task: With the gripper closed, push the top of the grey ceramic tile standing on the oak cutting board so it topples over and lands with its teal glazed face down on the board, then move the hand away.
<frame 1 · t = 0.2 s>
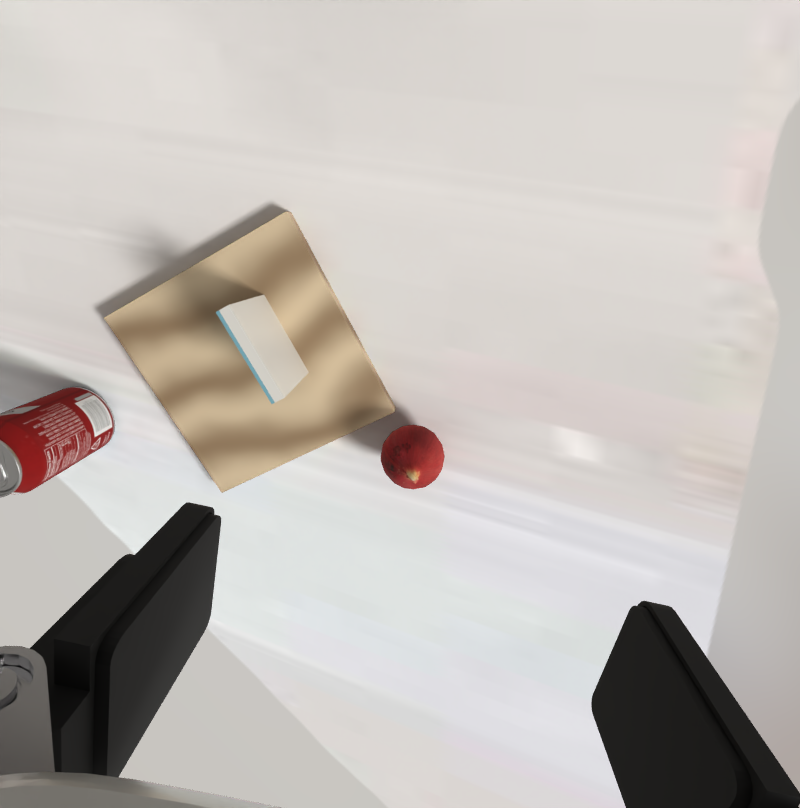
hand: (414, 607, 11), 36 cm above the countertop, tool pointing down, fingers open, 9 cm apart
tile: (281, 337, 45), point 1 cm above the countertop, touching board
soda can: (88, 415, 50), on the countertop
board: (256, 362, 47), on the countertop
onion: (413, 440, 49), on the countertop
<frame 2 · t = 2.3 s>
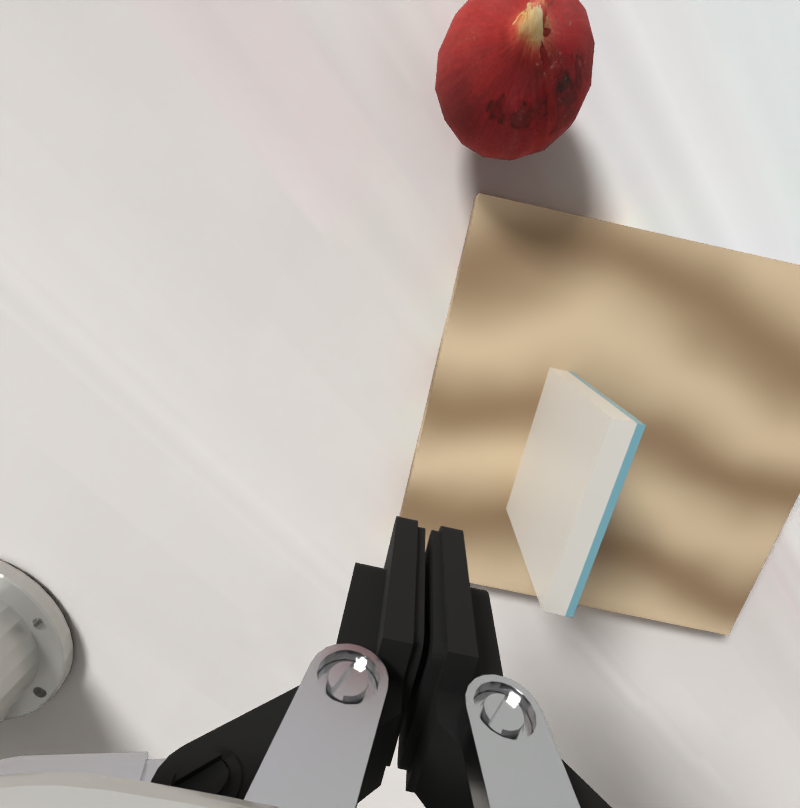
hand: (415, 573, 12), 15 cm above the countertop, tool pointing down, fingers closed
tile: (538, 443, 25), point 1 cm above the countertop, touching board
board: (608, 431, 26), on the countertop
onion: (496, 105, 22), on the countertop
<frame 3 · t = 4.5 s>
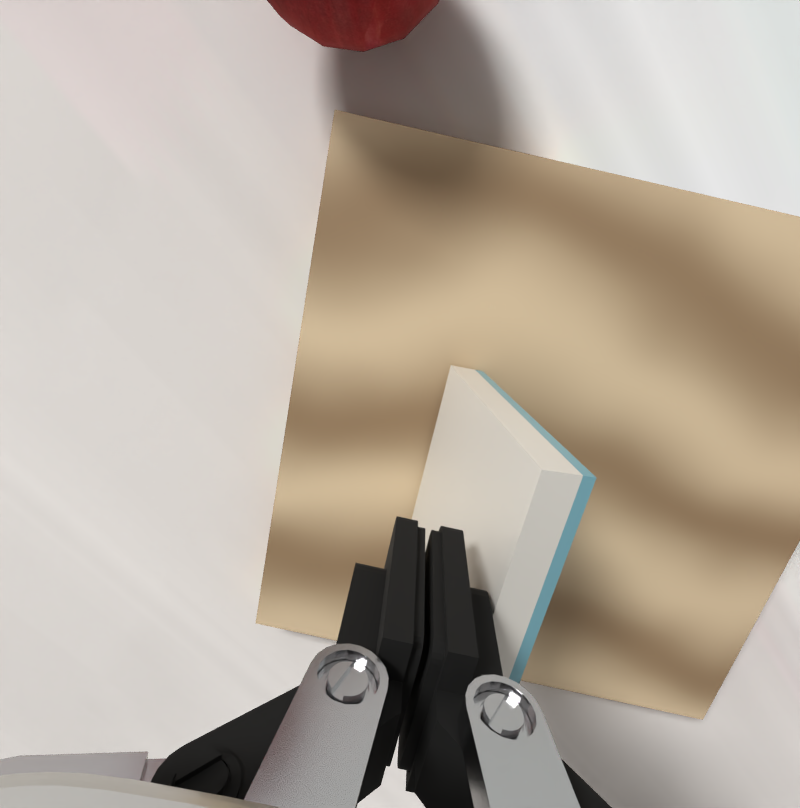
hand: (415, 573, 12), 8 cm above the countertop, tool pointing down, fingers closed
tile: (440, 469, 18), point 2 cm above the countertop, tilted 11°, touching board
board: (541, 451, 20), on the countertop
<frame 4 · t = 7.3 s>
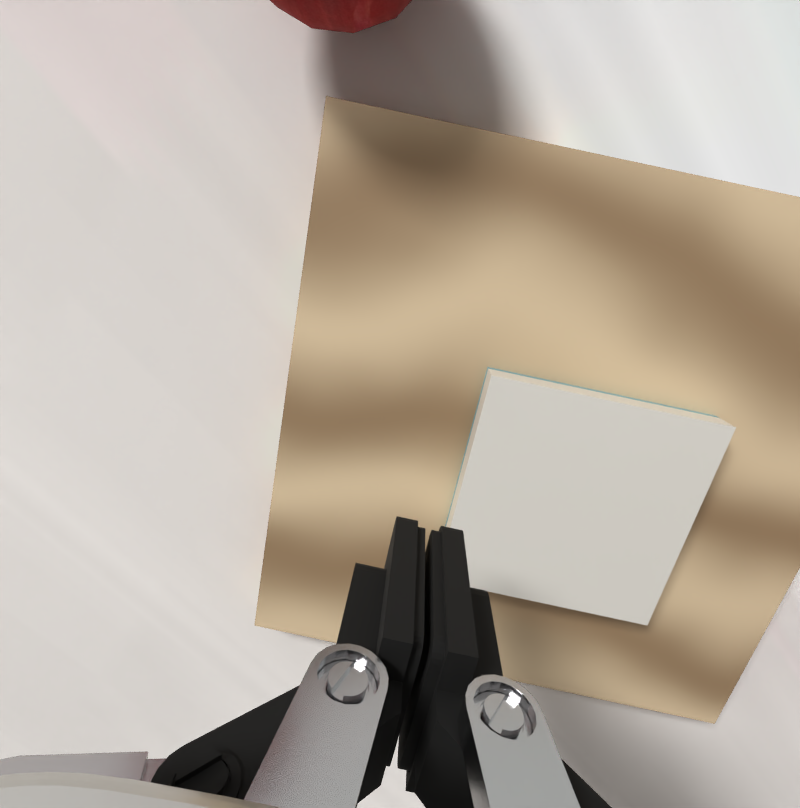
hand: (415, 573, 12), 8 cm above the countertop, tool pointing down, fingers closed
tile: (460, 477, 17), point 2 cm above the countertop, tilted 90°, touching board
board: (545, 448, 19), on the countertop
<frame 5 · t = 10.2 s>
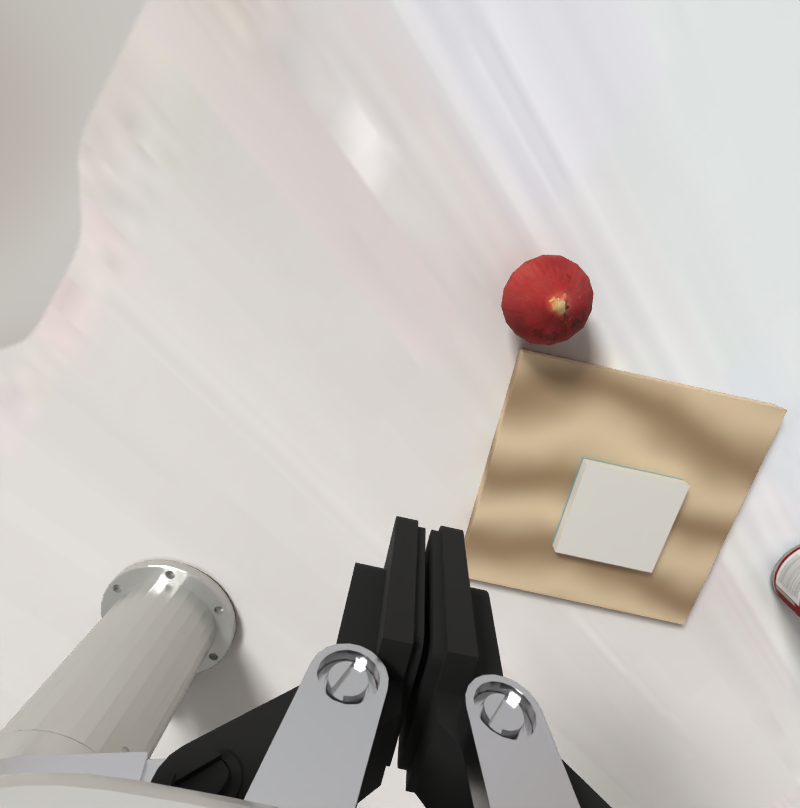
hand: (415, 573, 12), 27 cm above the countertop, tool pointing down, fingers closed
tile: (568, 505, 39), point 2 cm above the countertop, tilted 90°, touching board
board: (603, 490, 40), on the countertop
onion: (534, 295, 36), on the countertop
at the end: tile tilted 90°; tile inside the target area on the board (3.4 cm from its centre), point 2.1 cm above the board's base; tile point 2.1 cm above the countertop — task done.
